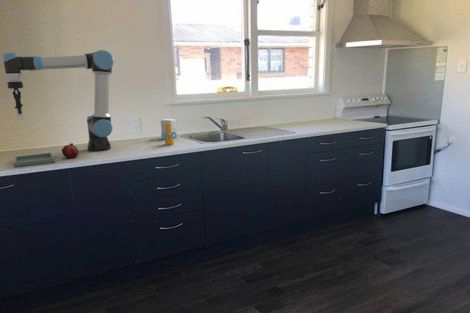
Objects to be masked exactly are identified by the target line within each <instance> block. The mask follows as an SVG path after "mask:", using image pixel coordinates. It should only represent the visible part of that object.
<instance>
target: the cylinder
mask: <svg viewBox="0 0 470 313" xmlns="http://www.w3.org/2000/svg"><path fill="white" fill-rule="evenodd" d="M165 127H166V133H165V132H163V133H162V132H161V134H160V135H161V136H160V137H161V139H162V140H164V144H165V146H173V145H174V143H175V142H174V139H177V138H178V133H177V134H176V132H172V131H171V123H166V124H165ZM163 134H165V135H166V136H165V137H163ZM172 134H175V136H174V137H173V136H172ZM176 137H177V138H176ZM173 138H174V139H173Z"/></svg>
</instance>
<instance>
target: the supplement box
mask: <svg viewBox="0 0 470 313" xmlns="http://www.w3.org/2000/svg"><path fill="white" fill-rule="evenodd" d="M166 123H171V131H172V132H176V134H177V135H178V128H177V127H178V126H177V119H176V118H165V119H161V120H160V127H161V129H160V130H161V134H162V133H163V132H165V133H166V127H165V124H166ZM165 136H166V135H165V134H163V137H165ZM172 136H173V137H174V136H175V134H172ZM177 138H178V136H177V137H176V138H173V140H174V139H177Z"/></svg>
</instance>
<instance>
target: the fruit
mask: <svg viewBox="0 0 470 313" xmlns="http://www.w3.org/2000/svg"><path fill="white" fill-rule="evenodd" d="M79 152H80V151H79V149H78V147H77V146H75V145H74V143H71V142H69V144H66V145H64V146H63V148H62V149H61V153H62V155H63V156H64V157H65V159H76V158H77V157H78V155H79Z"/></svg>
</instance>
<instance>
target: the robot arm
mask: <svg viewBox="0 0 470 313" xmlns="http://www.w3.org/2000/svg"><path fill="white" fill-rule="evenodd" d="M2 59H3V61H2V62H3V65H4V71H5V75H4V77H5V78H6V81H7V82H6V83H7V88H8V89H13V91H12V95H13V99H14V100H15V102H14V103H15V106H14V108H15V109H16V113H17V115H16V116H17V120H18V121H21V120H22V121H23V120H24V118H25V117H24V111H23V106H24V105H23V104H22V102H21V101H22V100H21V98H22V93H21V92H22V91H20V89H23V88H24V84H23V76H22V72H21V71H30V72H32V71H43V70H44V71H45V70H64V69H81V68H82V69H83V68H84V69H86V70H92V73H93V74H94V103H93V104H94V110H93V114H92V115H89V116H87V117H86V122H87V131H88V142H87V143H88V144H87V151H88V152H103V151H109V150H111V148H112V145H111V142H110V140H109V138H108V136H110V135H111V133H112V131H113V125H112V123H111V122H112V117H111V115H110V113H109V111H110V110H109V109H110V108H109V107H110V104H109V103H110V102H109V101H110V100H109V99H110V76H111V75H112V74H113V66H114V63H115V61H114V56H113V55H112V53H111V52H109V51H108V50H105V49H101V50H97V51H94V52H90V53H89V52H88V53H84V54H83V55H64V56H61V55H60V56H37V55H36V56H19V53H17V52H6V53H3V54H2Z"/></svg>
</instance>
